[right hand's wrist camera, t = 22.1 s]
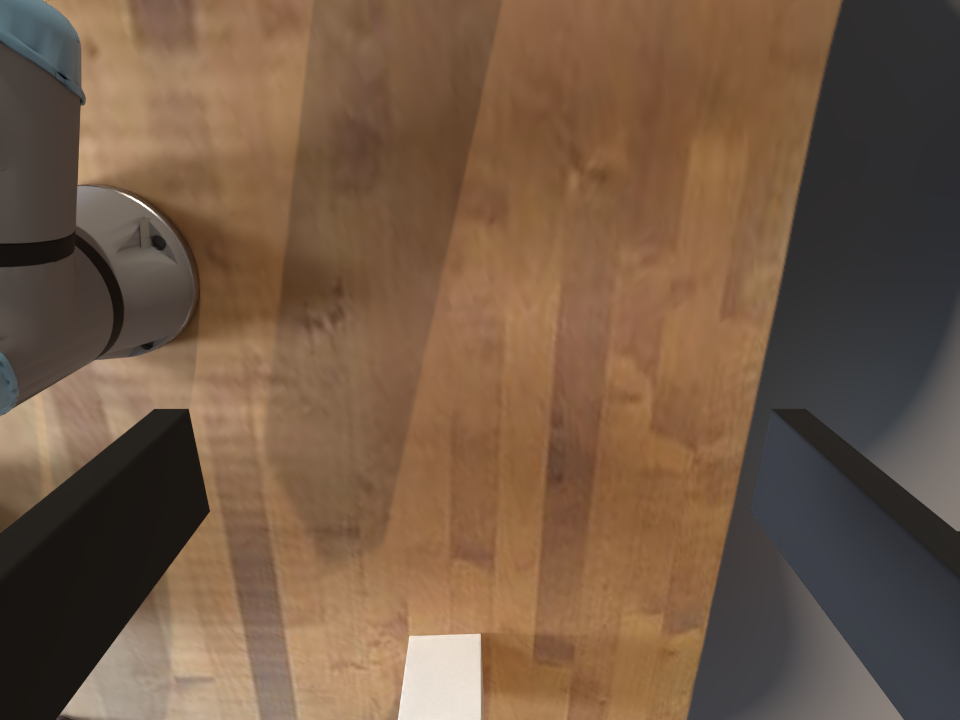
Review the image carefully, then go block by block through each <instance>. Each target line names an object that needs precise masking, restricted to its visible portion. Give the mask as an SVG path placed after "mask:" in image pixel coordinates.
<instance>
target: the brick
mask: <svg viewBox="0 0 960 720" xmlns="http://www.w3.org/2000/svg"><path fill="white" fill-rule="evenodd" d="M398 720H484V689H483V667H482V647H481V634H454V635H423V636H410V638H409V645H408V652H407V659H406V666H405V674H404V681H403V688H402V695H401V702H400V710H399V717H398Z"/></svg>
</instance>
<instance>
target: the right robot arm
mask: <svg viewBox="0 0 960 720" xmlns="http://www.w3.org/2000/svg"><path fill="white" fill-rule="evenodd" d="M85 102H86V98H85V94H84V92H83V90H82V89H81V44H80V41H79V37H78V34H77V32H76V31H75V29H74V28H73V26H72V25H71V23H70V22H69V20H68V19H67V18H66V17H65V16H63V15H62V14H61V13H60V12H59V11H58V10H57V9H55V8H54V7H52V6H51V5H49V4H48V3H46V2H45V1H43V0H0V416H1V415H3V414H6V413H7V412H9V411H10V410H11V409H13V408H14V407H16V406H18V405H19V404H21V403H23V402H24V401H26V400H28V399H29V398H31V397H33V396H34V395H36V394H38V393H40V392H41V391H43V390H45V389H46V388H48V387H50V386H51V385H53V384H55V383H56V382H58V381H60V380H61V379H63V378H65V377H67V376H68V375H70V374H72V373H73V372H75V371H77V370H78V369H80V368H82V367H83V366H85V365H87V364H89V363H90V362H92V361H94V360H101V359H112V358H124V357H132V356H137V355H141V354H144V353H147V352H150V351H153V350H155V349H158V348H160V347H161V346H163V345H165V344H166V343H168V342H170V341H171V340H173V339H174V338H175V337H177V336H178V335H179V334H180V333H181V332H182V331H183V330H184V329H185V328H186V326H187V325H188V324H189V322H190V321H191V319H192V317H193V315H194V313H195V310H196V307H197V303H198V298H199V274H198V270H197V265H196V262H195V259H194V256H193V254H192V251H191V249H190V247H189V245H188V243H187V241H186V240H185V238H184V236H183V235H182V233H181V232H180V231H179V229H178V228H177V227H176V225H175V224H174V223H173V222H172V221H171V220H170V219H169V218H168V217H167V216H166V215H165V214H164V213H163V212H162V211H161V210H159V209H158V208H157V207H156V206H154V205H153V204H151V203H150V202H149V201H147V200H145V199H144V198H142V197H140V196H138V195H136V194H134V193H132V192H129V191H127V190H124V189H121V188H117V187H114V186H108V185H100V184H85V185H77V183H78V157H79V130H80V105H85ZM209 512H210V509H209V505H208V500H207V495H206V490H205V485H204V481H203V476H202V471H201V466H200V461H199V457H198V452H197V447H196V442H195V437H194V433H193V428H192V423H191V418H190V413H189V409H154V410H153V411H152V412H150V413H149V414H148V415H147V416H145V417H144V418H143V419H142V420H140V421H139V422H138V423H137V424H135V425H134V426H133V427H132V428H130V429H129V430H128V431H127V432H126V433H124V434H123V435H122V436H121V437H119V438H118V439H117V440H116V441H114V442H113V443H112V444H111V445H109V446H108V447H107V448H106V449H104V450H103V451H102V452H101V453H100V454H98V455H97V456H96V457H95V458H93V459H92V460H91V461H90V462H88V463H87V464H86V465H85V466H83V467H82V468H81V469H80V470H78V471H77V472H76V473H75V474H74V475H72V476H71V477H70V478H69V479H67V480H66V481H65V482H64V483H62V484H61V485H60V486H59V487H57V488H56V489H55V490H54V491H52V492H51V493H50V494H49V495H48V496H46V497H45V498H44V499H43V500H41V501H40V502H39V503H38V504H36V505H35V506H34V507H33V508H31V509H30V510H29V511H28V512H26V513H25V514H24V515H23V516H22V517H20V518H19V519H18V520H17V521H15V522H14V523H13V524H12V525H10V526H9V527H8V528H7V529H5V530H4V531H3V532H2V533H0V720H56V719H57V717H58V716H59V715H60V713H61V712H62V711H63V709H64V708H65V707H66V705H67V704H68V703H69V701H70V700H71V698H72V697H73V696H74V694H75V693H76V692H77V690H78V689H79V688H80V686H81V685H82V684H83V682H84V681H85V680H86V678H87V677H88V676H89V674H90V673H91V671H92V670H93V669H94V667H95V666H96V665H97V663H98V662H99V661H100V659H101V658H102V657H103V655H104V654H105V653H106V651H107V650H108V648H109V647H110V646H111V644H112V643H113V642H114V640H115V639H116V638H117V636H118V635H119V634H120V632H121V631H122V630H123V628H124V627H125V625H126V624H127V623H128V621H129V620H130V619H131V617H132V616H133V615H134V613H135V612H136V611H137V609H138V608H139V607H140V605H141V604H142V603H143V601H144V600H145V598H146V597H147V596H148V594H149V593H150V592H151V590H152V589H153V588H154V586H155V585H156V584H157V582H158V581H159V580H160V578H161V577H162V575H163V574H164V573H165V571H166V570H167V569H168V567H169V566H170V565H171V563H172V562H173V561H174V559H175V558H176V557H177V555H178V554H179V552H180V551H181V550H182V548H183V547H184V546H185V544H186V543H187V542H188V540H189V539H190V538H191V536H192V535H193V534H194V532H195V531H196V529H197V528H198V527H199V525H200V524H201V523H202V521H203V520H204V519H205V517H206V516H207V515H208V513H209ZM750 512H751V513H752V515H753V516H754V517H755V519H756V520H757V521H758V523H759V524H760V525H761V527H762V528H763V529H764V531H765V532H766V534H767V535H768V536H769V538H770V539H771V540H772V542H773V543H774V544H775V546H776V547H777V548H778V550H779V551H780V552H781V554H782V555H783V557H784V558H785V559H786V561H787V562H788V563H789V565H790V566H791V567H792V569H793V570H794V571H795V573H796V574H797V575H798V577H799V578H800V580H801V581H802V582H803V584H804V585H805V586H806V588H807V589H808V590H809V592H810V593H811V594H812V596H813V597H814V598H815V600H816V601H817V602H818V604H819V605H820V607H821V608H822V609H823V611H824V612H825V613H826V615H827V616H828V617H829V619H830V620H831V621H832V623H833V624H834V625H835V627H836V628H837V630H838V631H839V632H840V634H841V635H842V636H843V638H844V639H845V640H846V642H847V643H848V644H849V646H850V647H851V648H852V650H853V651H854V652H855V654H856V655H857V657H858V658H859V659H860V661H861V662H862V663H863V665H864V666H865V667H866V669H867V670H868V671H869V673H870V674H871V676H872V677H873V678H874V680H875V681H876V682H877V683H878V685H879V686H880V688H881V689H882V690H883V692H884V693H885V694H886V696H887V697H888V698H889V700H890V701H891V703H892V704H893V705H894V707H895V708H896V709H897V711H898V712H899V713H900V715H901V716H902V717H903V719H904V720H960V531H956V530H955V529H953V528H952V527H951V526H950V525H948V524H947V523H946V522H945V521H943V520H942V519H941V518H940V517H938V516H937V515H936V514H935V513H933V512H932V511H931V510H930V509H929V508H927V507H926V506H925V505H924V504H922V503H921V502H920V501H919V500H917V499H916V498H915V497H914V496H912V495H911V494H910V493H909V492H908V491H906V490H905V489H904V488H903V487H901V486H900V485H899V484H898V483H896V482H895V481H894V480H893V479H891V478H890V477H889V476H888V475H886V474H885V473H884V472H883V471H882V470H880V469H879V468H878V467H877V466H875V465H874V464H873V463H872V462H870V461H869V460H868V459H867V458H865V457H864V456H863V455H862V454H860V453H859V452H858V451H857V450H856V449H854V448H853V447H852V446H851V445H849V444H848V443H847V442H846V441H844V440H843V439H842V438H841V437H839V436H838V435H837V434H836V433H834V432H833V431H832V430H831V429H830V428H828V427H827V426H826V425H825V424H823V423H822V422H821V421H820V420H818V419H817V418H816V417H815V416H813V415H812V414H811V413H810V412H808V411H807V410H806V409H771V413H770V418H769V423H768V428H767V433H766V438H765V442H764V447H763V452H762V457H761V461H760V466H759V471H758V476H757V481H756V485H755V490H754V495H753V500H752V505H751V509H750Z"/></svg>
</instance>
